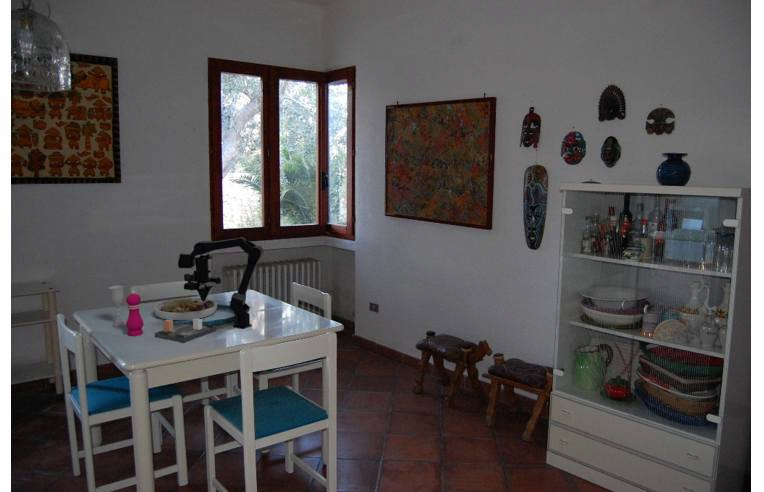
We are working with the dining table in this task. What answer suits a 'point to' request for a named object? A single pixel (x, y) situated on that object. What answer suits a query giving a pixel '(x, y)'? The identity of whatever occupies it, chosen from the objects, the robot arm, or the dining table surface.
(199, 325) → the fader
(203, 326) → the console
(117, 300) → the chalice
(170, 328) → the block
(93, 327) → the dining table surface
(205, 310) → the bowl
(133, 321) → the pepper mill
